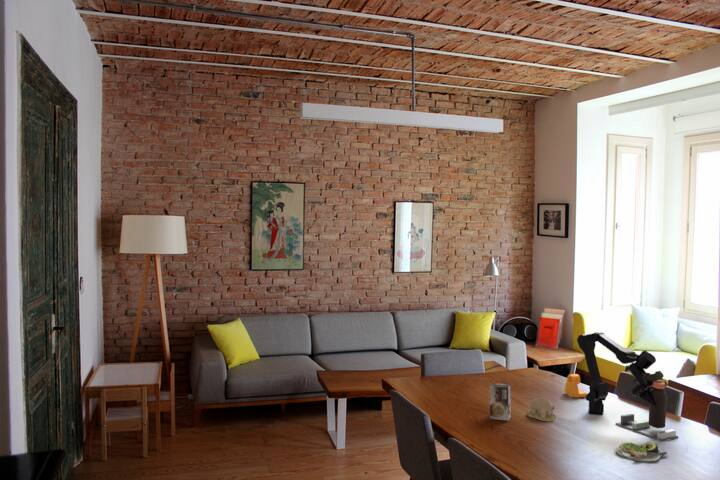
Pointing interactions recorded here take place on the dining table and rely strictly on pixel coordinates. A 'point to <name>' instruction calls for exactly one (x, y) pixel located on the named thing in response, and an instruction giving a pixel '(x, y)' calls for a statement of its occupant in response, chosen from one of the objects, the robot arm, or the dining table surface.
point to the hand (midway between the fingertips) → (660, 404)
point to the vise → (652, 432)
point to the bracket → (573, 386)
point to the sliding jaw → (636, 425)
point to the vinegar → (658, 405)
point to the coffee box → (500, 401)
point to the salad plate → (641, 451)
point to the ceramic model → (541, 409)
